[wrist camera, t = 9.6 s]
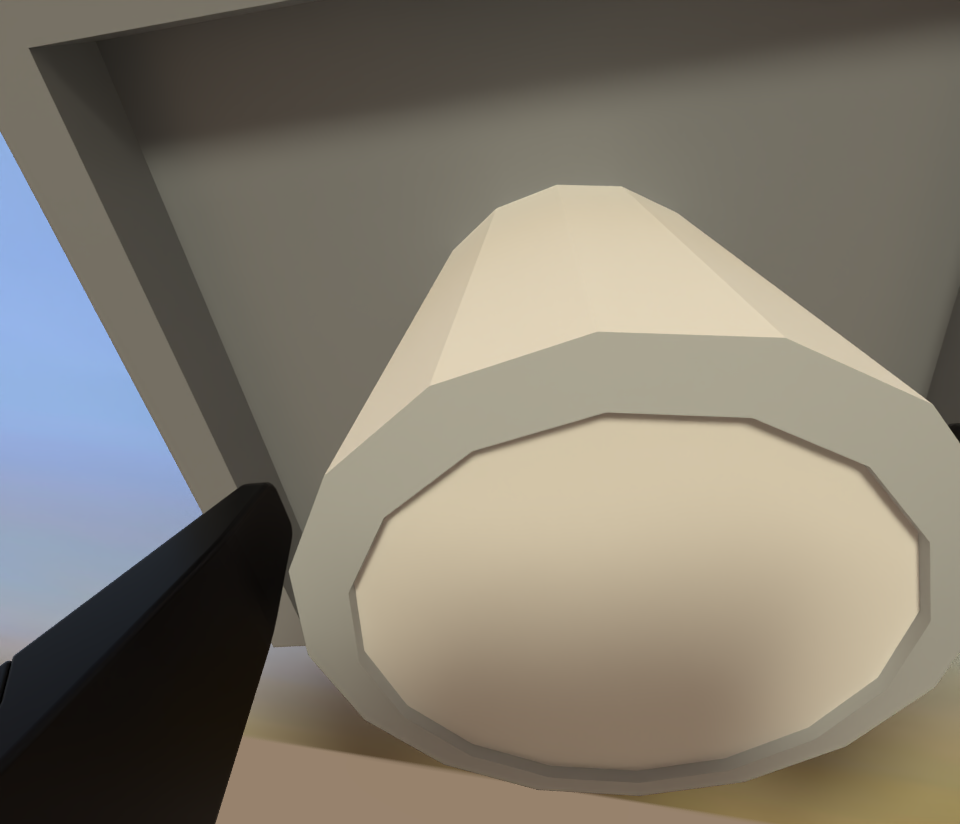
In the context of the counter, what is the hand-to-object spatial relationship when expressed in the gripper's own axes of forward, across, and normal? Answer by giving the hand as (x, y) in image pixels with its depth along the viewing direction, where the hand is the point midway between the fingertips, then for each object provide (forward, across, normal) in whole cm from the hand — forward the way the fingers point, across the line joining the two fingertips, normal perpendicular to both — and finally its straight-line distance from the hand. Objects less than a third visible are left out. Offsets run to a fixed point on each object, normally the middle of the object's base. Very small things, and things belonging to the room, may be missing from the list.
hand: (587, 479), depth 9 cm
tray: (+5, 0, 0) cm, 5 cm away
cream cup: (+4, 0, 0) cm, 5 cm away
